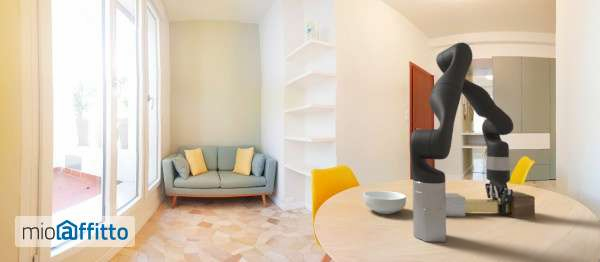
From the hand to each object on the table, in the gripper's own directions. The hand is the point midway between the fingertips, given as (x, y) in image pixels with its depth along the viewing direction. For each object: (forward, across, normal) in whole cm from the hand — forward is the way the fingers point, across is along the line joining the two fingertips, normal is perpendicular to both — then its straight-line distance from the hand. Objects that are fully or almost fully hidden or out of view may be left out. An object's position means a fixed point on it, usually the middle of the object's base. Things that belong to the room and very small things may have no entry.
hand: (498, 212), depth 108 cm
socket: (+1, 0, -6) cm, 7 cm away
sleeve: (+1, 0, +21) cm, 21 cm away
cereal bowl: (+1, +2, +43) cm, 43 cm away
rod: (0, 0, +5) cm, 5 cm away
